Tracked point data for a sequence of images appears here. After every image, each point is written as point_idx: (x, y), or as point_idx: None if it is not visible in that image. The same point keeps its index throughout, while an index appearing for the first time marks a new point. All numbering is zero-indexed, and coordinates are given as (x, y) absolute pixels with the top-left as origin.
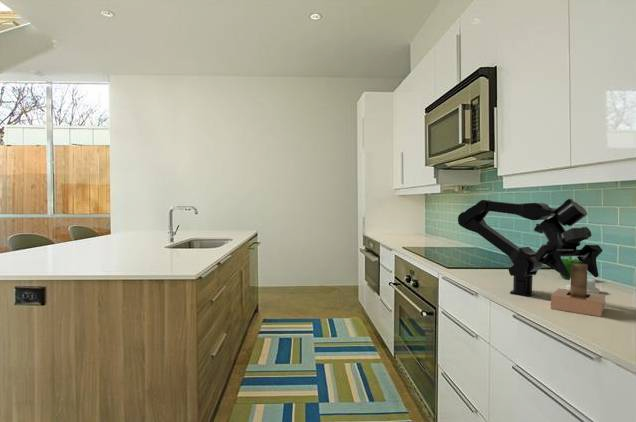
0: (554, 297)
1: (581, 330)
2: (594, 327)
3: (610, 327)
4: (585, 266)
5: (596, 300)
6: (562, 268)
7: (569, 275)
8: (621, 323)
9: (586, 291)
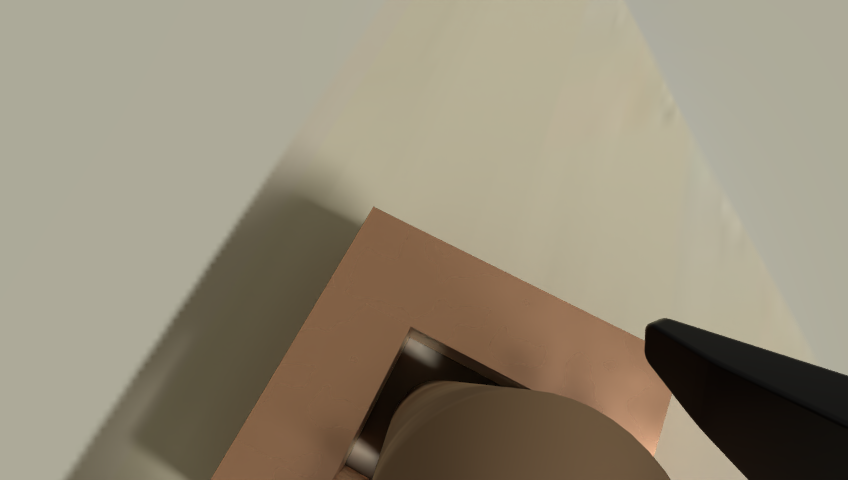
0: None
1: (566, 3)
2: (497, 50)
3: (425, 64)
4: (439, 412)
5: (388, 249)
6: (819, 378)
7: (652, 323)
8: (335, 137)
9: (393, 417)
